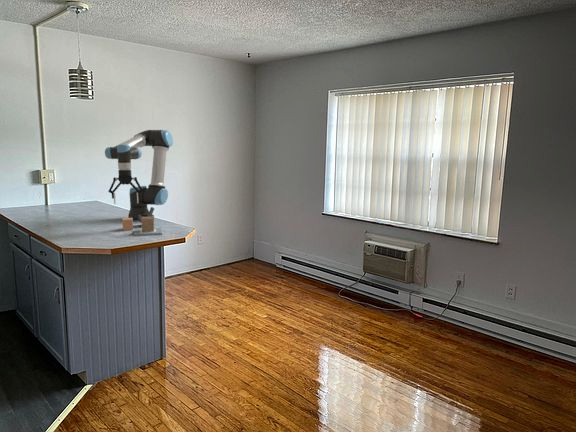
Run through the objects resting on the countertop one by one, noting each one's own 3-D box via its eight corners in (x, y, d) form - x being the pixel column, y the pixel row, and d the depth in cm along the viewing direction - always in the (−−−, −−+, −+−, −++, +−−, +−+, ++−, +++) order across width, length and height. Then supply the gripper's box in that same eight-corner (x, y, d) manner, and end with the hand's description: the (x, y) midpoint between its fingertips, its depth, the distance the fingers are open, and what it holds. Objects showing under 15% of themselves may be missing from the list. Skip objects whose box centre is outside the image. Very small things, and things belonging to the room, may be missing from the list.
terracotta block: (123, 228, 284) (122, 218, 282) (133, 228, 286) (132, 217, 284) (122, 230, 278) (122, 219, 277) (132, 230, 280) (132, 219, 279)
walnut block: (142, 229, 274) (141, 217, 273) (153, 229, 277) (153, 216, 275) (142, 232, 268) (141, 219, 267) (154, 231, 270) (153, 218, 269)
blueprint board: (134, 230, 277) (134, 228, 277) (161, 229, 282) (160, 227, 282) (134, 236, 262) (133, 234, 262) (162, 234, 267) (162, 232, 267)
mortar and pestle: (144, 227, 287) (143, 209, 285) (136, 225, 293) (135, 207, 291) (159, 225, 296) (158, 207, 294) (151, 223, 302) (150, 206, 300)
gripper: (102, 170, 268) (104, 204, 271) (145, 169, 275) (147, 203, 279) (103, 169, 275) (105, 203, 278) (145, 169, 282) (147, 201, 286)
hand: (126, 203), depth 279 cm, fingers open, 13 cm apart
